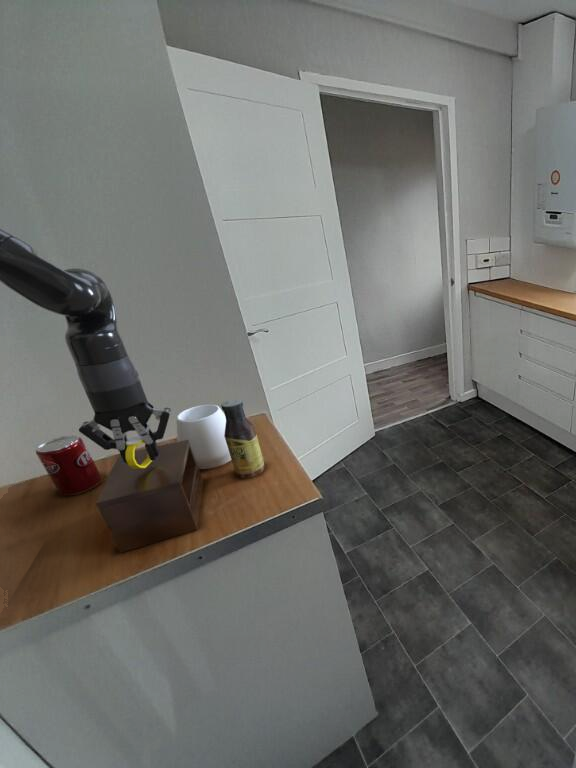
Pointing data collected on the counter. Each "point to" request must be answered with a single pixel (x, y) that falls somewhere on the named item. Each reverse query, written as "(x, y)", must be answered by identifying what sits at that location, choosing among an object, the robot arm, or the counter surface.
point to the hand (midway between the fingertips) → (143, 460)
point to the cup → (204, 435)
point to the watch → (130, 453)
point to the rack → (152, 497)
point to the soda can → (69, 465)
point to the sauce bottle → (242, 440)
